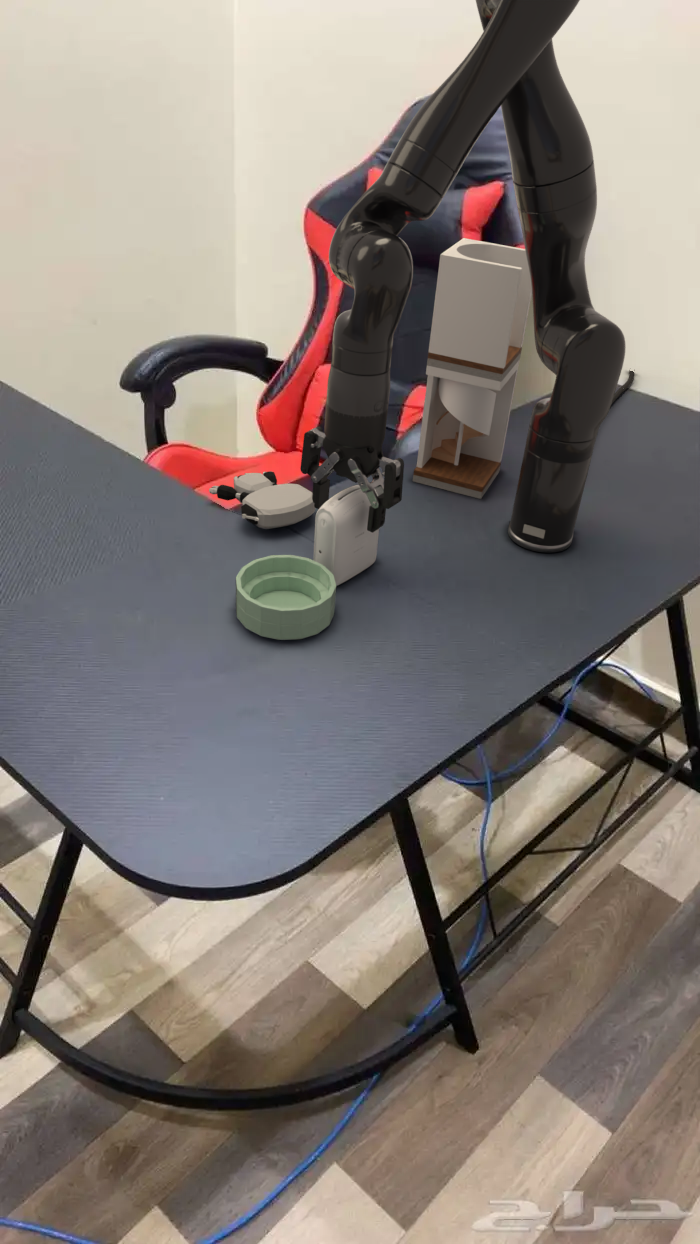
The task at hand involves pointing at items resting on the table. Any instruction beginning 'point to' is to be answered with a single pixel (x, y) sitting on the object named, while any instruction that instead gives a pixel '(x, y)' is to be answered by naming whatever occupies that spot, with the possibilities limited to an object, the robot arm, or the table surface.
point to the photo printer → (345, 534)
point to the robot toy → (268, 500)
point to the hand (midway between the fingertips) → (346, 517)
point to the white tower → (472, 364)
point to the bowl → (285, 597)
